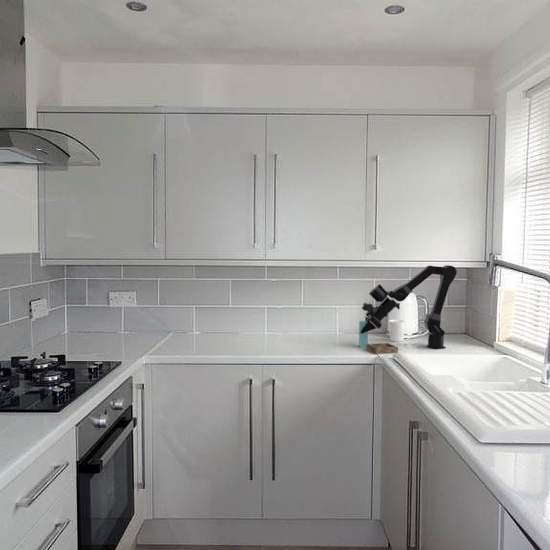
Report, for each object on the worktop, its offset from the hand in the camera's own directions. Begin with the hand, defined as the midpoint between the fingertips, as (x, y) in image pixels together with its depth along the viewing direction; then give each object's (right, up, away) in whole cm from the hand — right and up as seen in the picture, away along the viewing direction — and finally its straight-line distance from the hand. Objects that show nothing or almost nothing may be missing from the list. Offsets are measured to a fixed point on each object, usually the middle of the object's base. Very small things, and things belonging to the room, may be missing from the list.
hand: (360, 332), depth 247 cm
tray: (+8, -8, -9) cm, 15 cm away
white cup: (+21, -6, +16) cm, 27 cm away
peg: (+1, -7, 0) cm, 7 cm away
